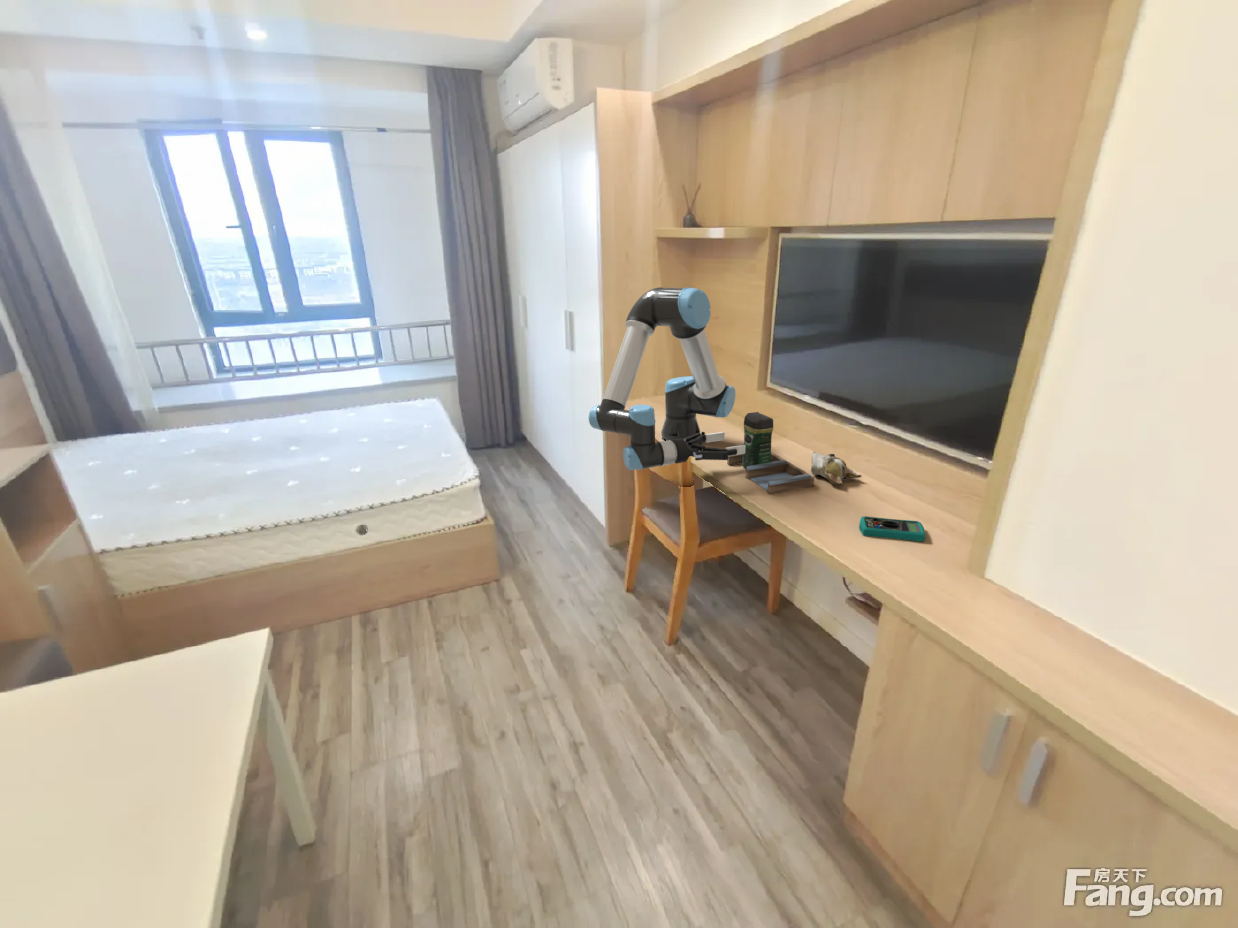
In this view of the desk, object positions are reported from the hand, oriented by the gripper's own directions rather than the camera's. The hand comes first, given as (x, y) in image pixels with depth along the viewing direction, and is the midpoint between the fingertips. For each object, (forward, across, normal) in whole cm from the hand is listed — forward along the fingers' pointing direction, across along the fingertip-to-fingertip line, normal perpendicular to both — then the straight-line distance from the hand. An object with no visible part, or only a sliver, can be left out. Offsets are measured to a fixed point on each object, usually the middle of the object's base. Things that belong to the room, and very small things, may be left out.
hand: (734, 442), depth 178 cm
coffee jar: (+9, 0, -11) cm, 14 cm away
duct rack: (+9, +6, -10) cm, 15 cm away
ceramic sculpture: (+25, +17, -11) cm, 32 cm away
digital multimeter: (+18, +50, -11) cm, 54 cm away
